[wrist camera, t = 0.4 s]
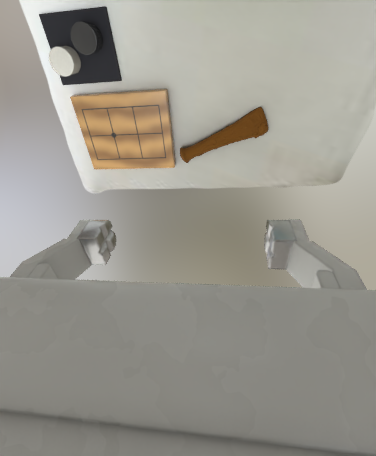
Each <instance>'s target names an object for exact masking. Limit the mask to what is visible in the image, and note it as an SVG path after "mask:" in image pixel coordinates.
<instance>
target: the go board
mask: <svg viewBox="0 0 376 456" xmlns="http://www.w3.org/2000/svg"><path fill="white" fill-rule="evenodd" d="M70 98H71V101H72V104H73V107H74V110H75V113H76V116H77V119H78V122H79V125H80V128H81V131H82V134H83V137H84V140H85V143H86V146H87V149H88V152H89V155H90V158H91V161H92V164H93V167H94V169H131V168H174V167H175V165H176V163H175V154H174V146H173V137H172V128H171V119H170V110H169V101H168V92H167V89H160V90H145V91H130V92H115V93H100V94H84V95H74V96H71V97H70Z"/></svg>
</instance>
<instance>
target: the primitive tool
mask: <svg viewBox="0 0 376 456" xmlns="http://www.w3.org/2000/svg"><path fill="white" fill-rule="evenodd" d="M267 131H268V125H267V120H266V117H265V114H264V111H263V109H262V107H259V108H257V109H255V110H253V111H251V112H250V113H248V114H247V115H245V116H244V117H243V118H241V119H240V120H238V121H237V122H235V123H233V124H231V125H229V126H227V127H226V128H225V129H223V130H221V131H219V132H217V133H215V134H213V135H211V136H210V137H208V138H206V139H204V140H203V141H201V142H199V143H197V144H195V145H192V146H190V147H187V148H180V154H181V155H180V156H181V158H182V159H183V160H184V161H185V162H186V163H188V162H189V161H190V160H191V159H192V158H194V157H196V156H200V155H202V154H204V153H206V152H208V151H210V150H213V149H217V148H219V147H222V146H225V145H228V144H230V143H234V142H238V141H241V140H244V139H248V138H252V137H255V138H257V137H259V136H261V135H264V134H265V133H266V132H267Z"/></svg>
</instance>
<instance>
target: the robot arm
mask: <svg viewBox="0 0 376 456" xmlns="http://www.w3.org/2000/svg"><path fill="white" fill-rule="evenodd" d="M111 228H112V224H111V222H110V221H109V220H81V221H80V222H79V223H78V225H77V226H76V227H75V228H74V230H73V231H72V233H71V234H70V235H69V237H68V238H67V239H63V240H61V241H59V242H57V243H56V244H54V245H52V246H51V247H49V248H47V249H45V250H43V251H41V252H40V253H38V254H36V255H34V256H32V257H31V258H29V259H27V260H25V261H23V262H22V263H21V264H20V265H19V267H18V268H17V269H16V270H15V271H14V272H13V274H12V275H11V276H10V277H0V456H376V290H367V289H366V287H365V285H364V283H363V282H362V280H361V278H360V276H359V274H358V273H357V271H356V270H355V269H353V268H352V267H350V266H349V265H347V264H346V263H344V262H343V261H341V260H340V259H338V258H337V257H335V256H334V255H332V254H331V253H329V252H328V251H327V250H325V249H324V248H322V247H320V246H319V245H318V244H316V243H315V242H313V241H309V238H308V236H307V234H306V231H305V229H304V226H303V224H302V221H301V220H300V219H295V220H294V219H293V220H292V219H291V220H267V224H266V229H267V232H266V233H265V238H264V246H265V252H266V253H267V263H268V268H269V269H286V270H287V271H288V272H289V273H290V274H291V275H292V276H293V277H294V278H295V280H296V281H297V282H298V283H299V284H300V285H301V286H302V287H303V288H297V287H269V286H240V285H211V284H184V283H181V284H180V283H154V282H125V281H97V280H75V279H76V278H77V277H78V276H79V275H80V274H82V273H83V272H84V271H85V270H86V269H88V268H89V267H90V266H91V265H99V264H100V265H103V264H105V265H106V264H107V262H108V260H109V258H110V256H111V255H110V252H111V251H112V250H114V248H115V246H116V235H115V233H114V232H113V231H112V230H111Z"/></svg>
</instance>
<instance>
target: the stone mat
mask: <svg viewBox="0 0 376 456" xmlns="http://www.w3.org/2000/svg"><path fill="white" fill-rule="evenodd" d="M39 16H40V19H41V22H42V25H43V28H44V31H45V34H46V37H47V40H48V42H49V45H50V48H51V49H52V48H53V47H57V46H69V47H71V48H73V49H74V50H75V51H76V52H77V54H78V56H79V58H80V61H81V67H80V70H79V72H78V73H76V74H74V75H70V76H61V75H60V78H61V81H62V84H63V85H70V84H84V83H98V82H112V81H122V80H121V75H120V70H119V66H118V61H117V56H116V51H115V46H114V42H113V37H112V32H111V27H110V23H109V18H108V13H107V8H106V7H99V8H90V9H81V10H73V11H64V12H56V13H47V14H39ZM76 22H91V23H93V24H95V25H96V26H97V27H98V28H99V30H100V32H101V34H102V37H103V46H102V49H101V50H100V51H99V52H98V53H96V54H90V55H85V54H82V53H80V52H79V51H78V50H77V49H76V48H75V46H74V45H73V42H72V39H71V29H72V26H73V25H74V24H75V23H76Z"/></svg>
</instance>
